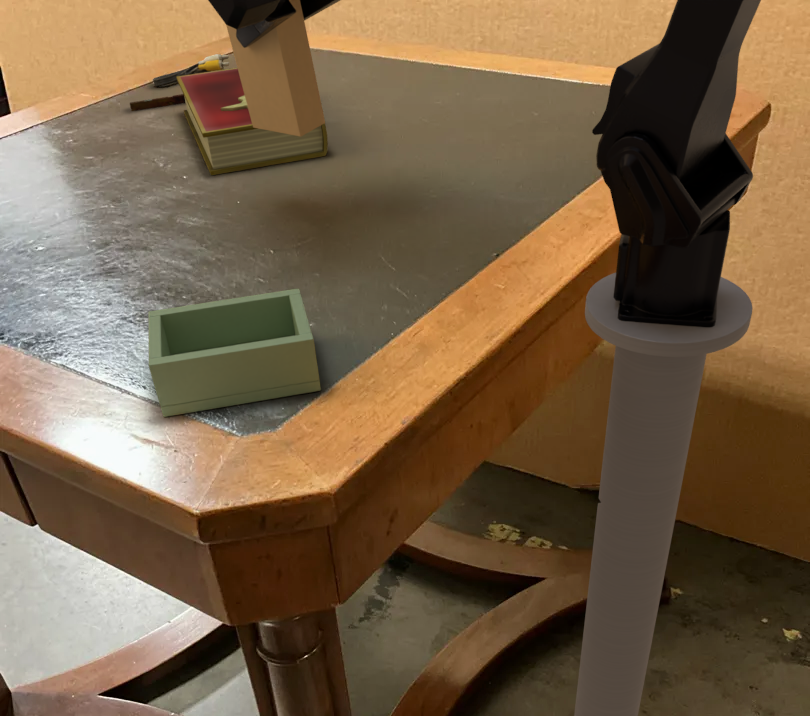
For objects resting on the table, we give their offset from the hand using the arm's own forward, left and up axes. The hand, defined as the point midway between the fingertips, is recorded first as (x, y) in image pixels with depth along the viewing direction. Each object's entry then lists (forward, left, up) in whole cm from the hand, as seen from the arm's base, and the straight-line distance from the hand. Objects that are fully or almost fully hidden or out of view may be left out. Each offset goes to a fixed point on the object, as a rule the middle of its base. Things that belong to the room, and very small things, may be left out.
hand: (256, 37), depth 72 cm
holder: (-8, +28, -14) cm, 32 cm away
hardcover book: (+10, -18, -14) cm, 25 cm away
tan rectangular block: (-2, 0, -7) cm, 7 cm away
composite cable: (+26, -37, -14) cm, 48 cm away
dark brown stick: (+22, -28, -14) cm, 39 cm away
